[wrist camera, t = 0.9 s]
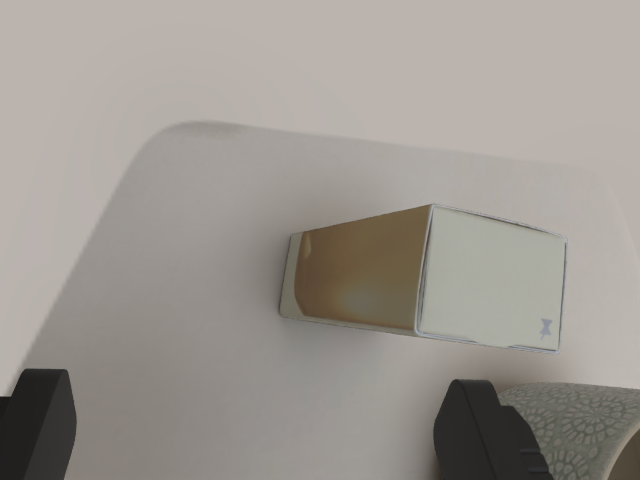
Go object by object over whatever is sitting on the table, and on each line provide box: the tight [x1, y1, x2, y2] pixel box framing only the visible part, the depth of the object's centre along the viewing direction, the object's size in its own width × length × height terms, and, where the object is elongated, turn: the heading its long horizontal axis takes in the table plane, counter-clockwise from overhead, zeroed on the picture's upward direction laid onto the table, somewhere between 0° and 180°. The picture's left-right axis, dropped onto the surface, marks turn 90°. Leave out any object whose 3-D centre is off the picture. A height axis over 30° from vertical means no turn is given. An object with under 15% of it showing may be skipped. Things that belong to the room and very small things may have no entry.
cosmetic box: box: [280, 204, 568, 354], centre depth 24 cm, size 6×4×12 cm
